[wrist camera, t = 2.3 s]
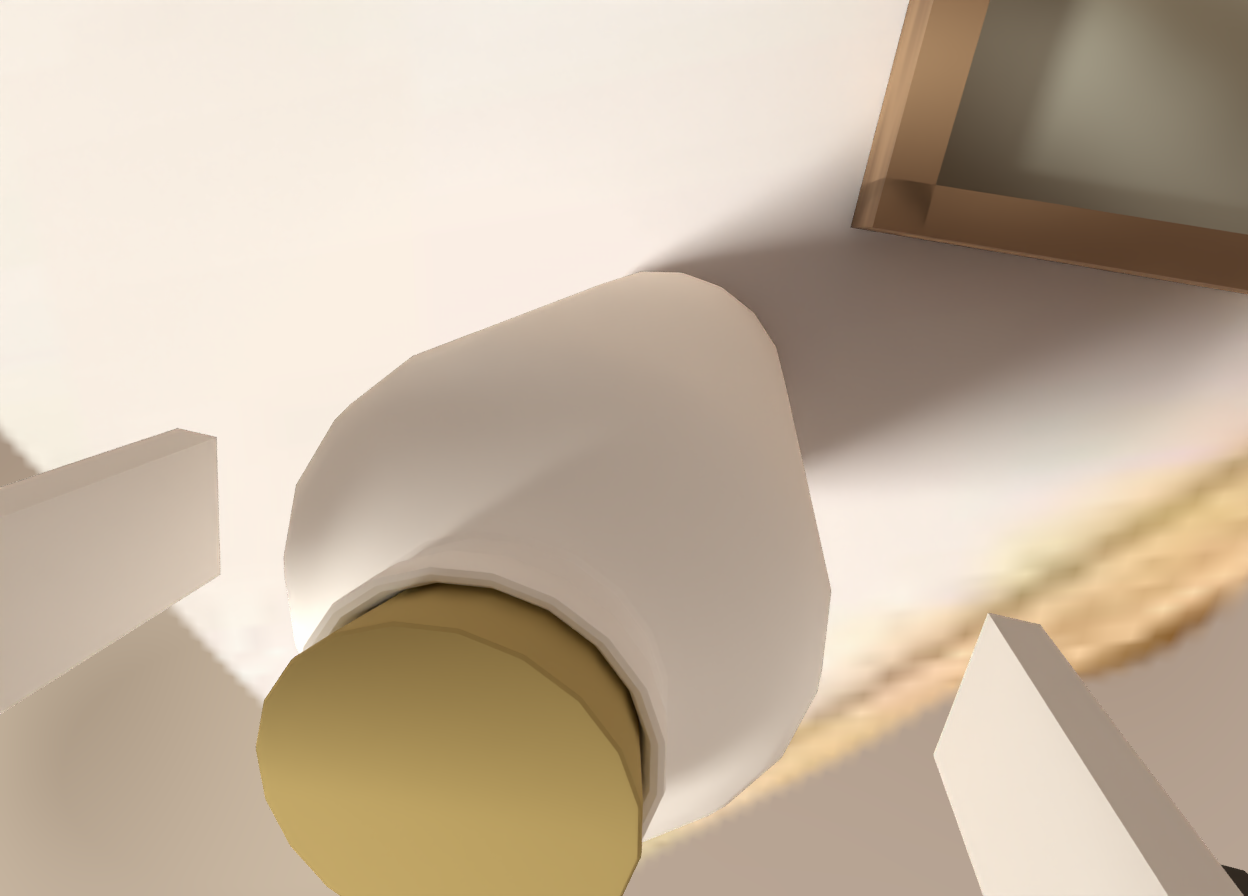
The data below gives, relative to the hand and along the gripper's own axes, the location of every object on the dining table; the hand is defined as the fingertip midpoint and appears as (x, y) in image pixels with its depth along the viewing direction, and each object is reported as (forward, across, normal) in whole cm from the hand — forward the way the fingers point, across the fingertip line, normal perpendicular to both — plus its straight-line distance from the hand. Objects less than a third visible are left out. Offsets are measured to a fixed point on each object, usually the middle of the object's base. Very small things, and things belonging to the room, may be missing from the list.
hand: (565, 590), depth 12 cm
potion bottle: (+13, 0, +1) cm, 13 cm away
